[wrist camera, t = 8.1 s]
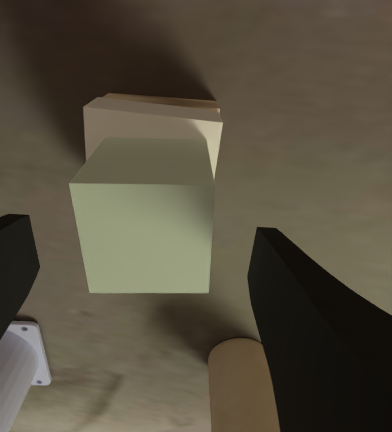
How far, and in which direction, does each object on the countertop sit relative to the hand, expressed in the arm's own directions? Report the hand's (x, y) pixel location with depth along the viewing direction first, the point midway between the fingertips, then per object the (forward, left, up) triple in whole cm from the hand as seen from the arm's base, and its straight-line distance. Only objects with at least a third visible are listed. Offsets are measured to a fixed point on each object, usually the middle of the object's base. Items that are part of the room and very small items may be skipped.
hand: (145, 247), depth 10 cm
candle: (+7, -19, -10) cm, 23 cm away
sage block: (0, 0, -6) cm, 6 cm away
